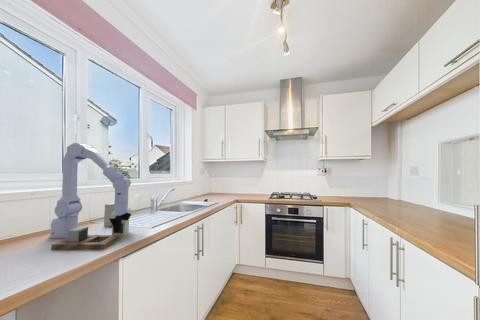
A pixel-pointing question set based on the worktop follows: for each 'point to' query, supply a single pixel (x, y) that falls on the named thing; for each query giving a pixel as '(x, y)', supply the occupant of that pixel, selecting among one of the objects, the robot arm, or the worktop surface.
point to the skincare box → (108, 214)
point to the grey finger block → (77, 234)
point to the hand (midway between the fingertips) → (120, 230)
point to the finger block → (122, 228)
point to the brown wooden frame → (88, 243)
